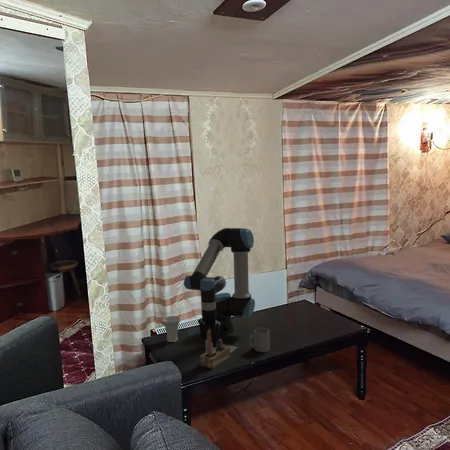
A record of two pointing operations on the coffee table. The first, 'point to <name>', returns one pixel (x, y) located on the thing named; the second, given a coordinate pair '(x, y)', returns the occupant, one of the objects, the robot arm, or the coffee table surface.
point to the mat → (230, 347)
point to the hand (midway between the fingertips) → (210, 352)
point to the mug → (261, 340)
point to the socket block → (215, 356)
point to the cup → (171, 327)
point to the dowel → (209, 343)
